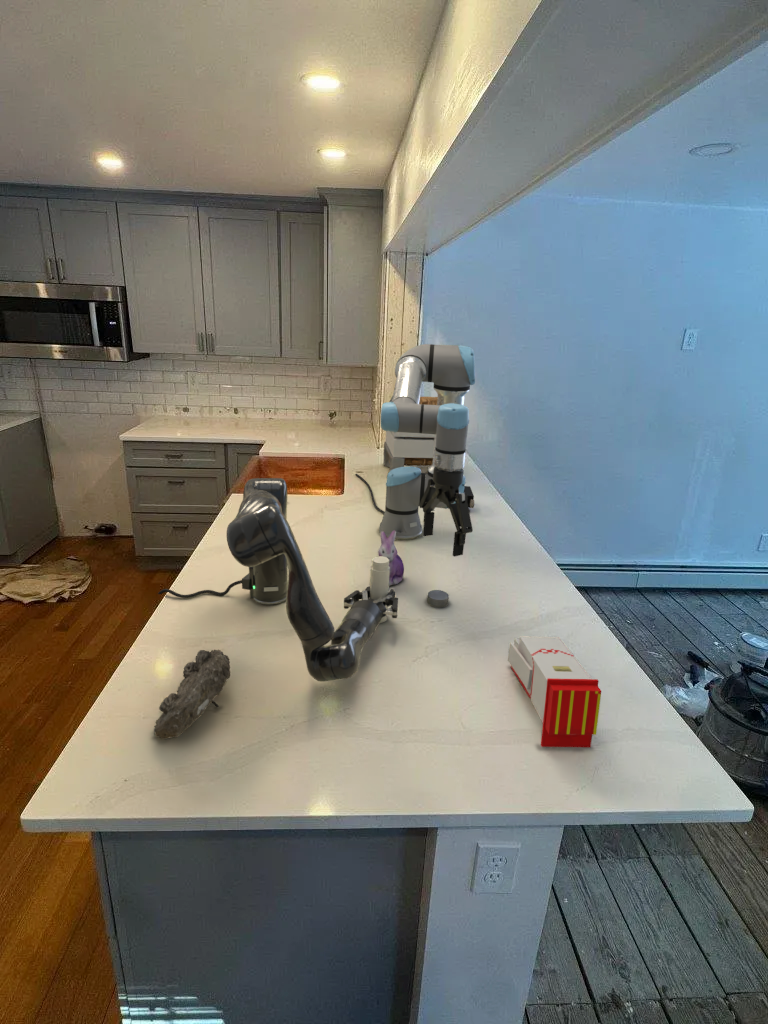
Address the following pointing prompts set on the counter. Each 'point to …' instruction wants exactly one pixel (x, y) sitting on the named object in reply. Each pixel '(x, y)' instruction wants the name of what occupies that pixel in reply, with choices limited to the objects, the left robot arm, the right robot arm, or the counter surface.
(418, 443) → the grey brown slatted box
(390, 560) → the figurine
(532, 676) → the toy
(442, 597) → the lid
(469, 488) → the figurine character
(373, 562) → the jar
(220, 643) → the counter surface
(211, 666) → the fossil
